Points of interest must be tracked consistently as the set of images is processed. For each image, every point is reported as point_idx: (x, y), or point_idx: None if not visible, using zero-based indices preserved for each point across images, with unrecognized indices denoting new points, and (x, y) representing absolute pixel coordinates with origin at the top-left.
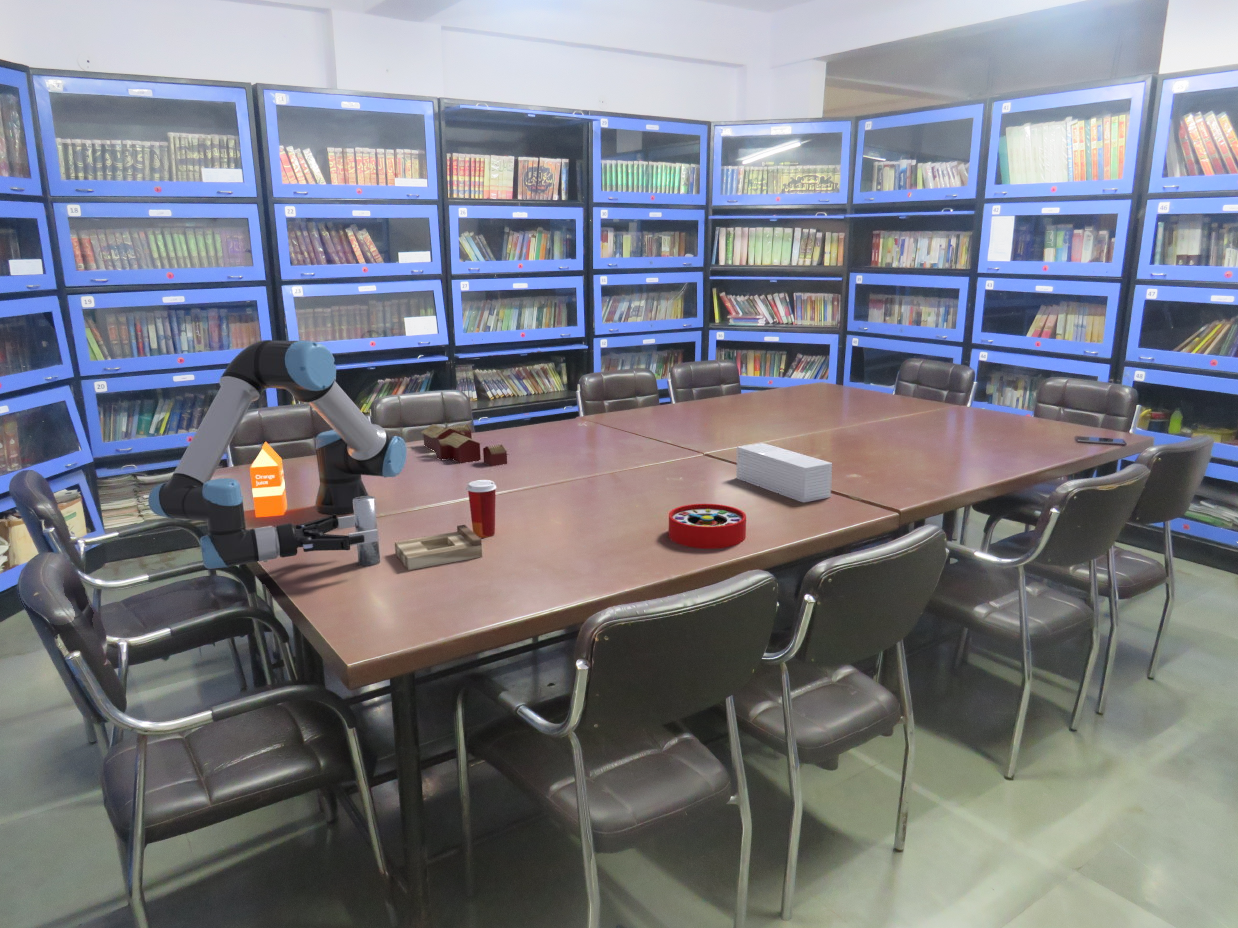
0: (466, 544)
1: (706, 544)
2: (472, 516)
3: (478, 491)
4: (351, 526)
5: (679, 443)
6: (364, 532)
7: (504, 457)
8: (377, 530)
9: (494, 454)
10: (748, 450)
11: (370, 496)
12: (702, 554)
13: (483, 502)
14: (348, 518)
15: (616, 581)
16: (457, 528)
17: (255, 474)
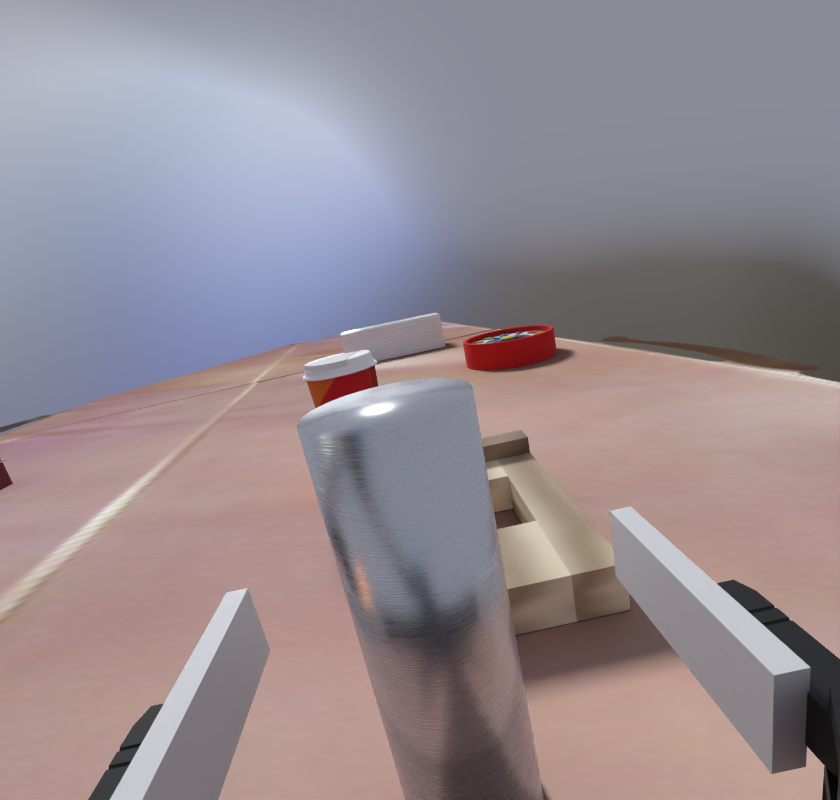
0: (507, 462)
1: (554, 349)
2: None
3: (370, 365)
4: (232, 752)
5: (201, 393)
6: (691, 562)
7: (2, 473)
8: (631, 511)
9: None
10: (358, 331)
11: (351, 396)
12: (575, 353)
13: None
14: (196, 712)
15: (682, 371)
16: None
17: None
